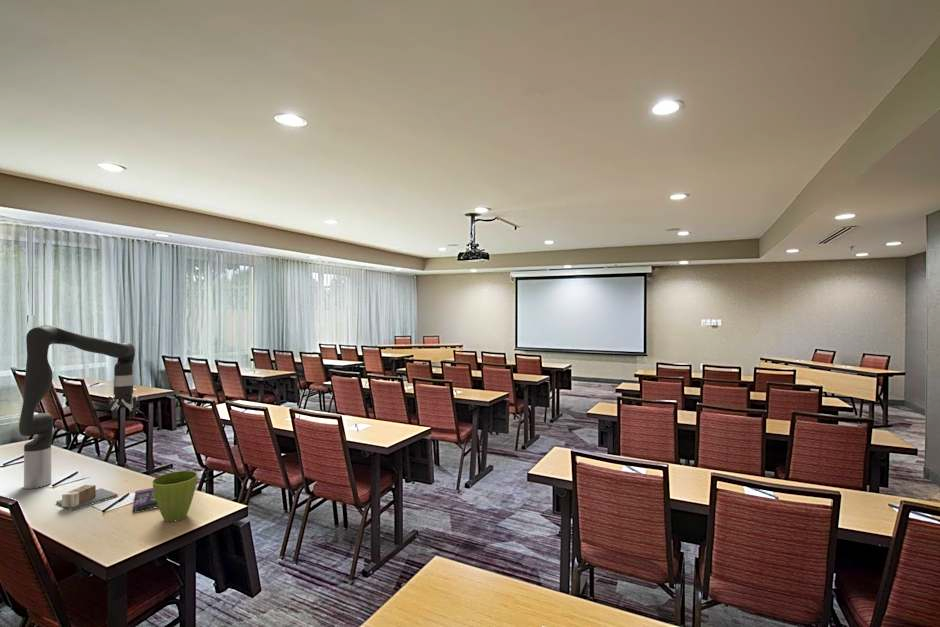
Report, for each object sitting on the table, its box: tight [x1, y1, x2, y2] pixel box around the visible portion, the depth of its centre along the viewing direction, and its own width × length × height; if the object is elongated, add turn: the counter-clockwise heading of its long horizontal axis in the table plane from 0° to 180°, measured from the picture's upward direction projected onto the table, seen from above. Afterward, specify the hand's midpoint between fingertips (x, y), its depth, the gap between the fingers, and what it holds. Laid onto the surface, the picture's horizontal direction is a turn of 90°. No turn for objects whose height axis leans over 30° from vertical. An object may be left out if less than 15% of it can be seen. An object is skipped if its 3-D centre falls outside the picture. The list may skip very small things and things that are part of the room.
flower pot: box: [152, 470, 199, 522], centre depth 177 cm, size 15×15×16 cm
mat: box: [55, 487, 118, 511], centre depth 193 cm, size 14×16×1 cm
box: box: [132, 487, 158, 513], centre depth 193 cm, size 14×4×20 cm
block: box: [61, 484, 97, 508], centre depth 189 cm, size 5×5×10 cm
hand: (123, 418), depth 216 cm, fingers open, 8 cm apart
